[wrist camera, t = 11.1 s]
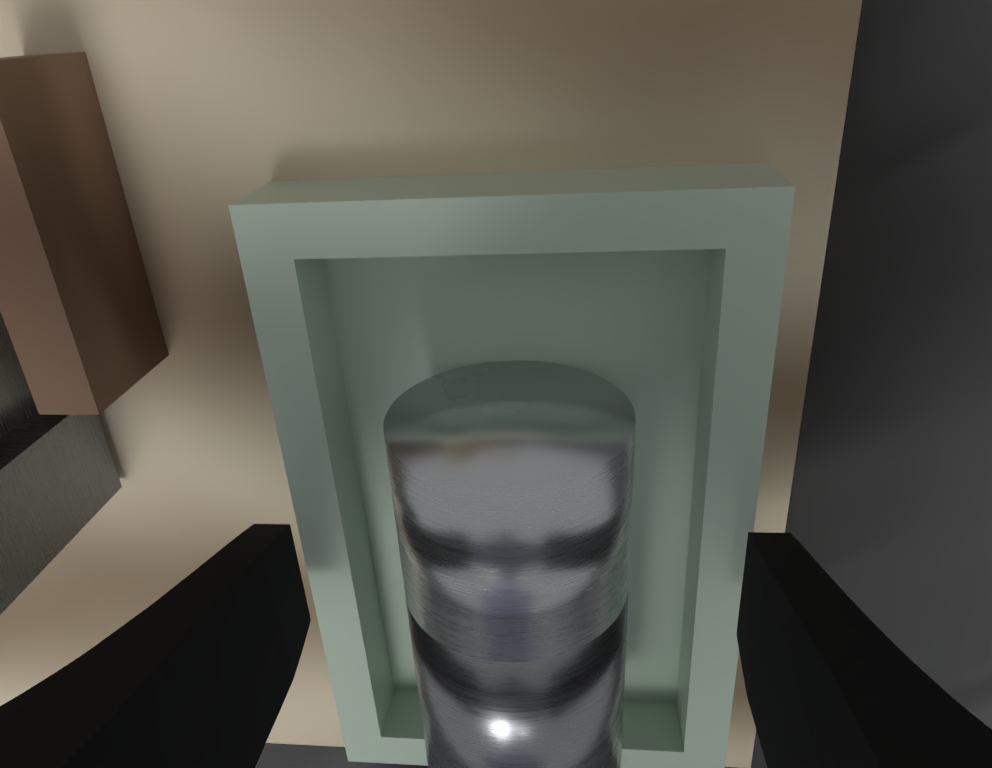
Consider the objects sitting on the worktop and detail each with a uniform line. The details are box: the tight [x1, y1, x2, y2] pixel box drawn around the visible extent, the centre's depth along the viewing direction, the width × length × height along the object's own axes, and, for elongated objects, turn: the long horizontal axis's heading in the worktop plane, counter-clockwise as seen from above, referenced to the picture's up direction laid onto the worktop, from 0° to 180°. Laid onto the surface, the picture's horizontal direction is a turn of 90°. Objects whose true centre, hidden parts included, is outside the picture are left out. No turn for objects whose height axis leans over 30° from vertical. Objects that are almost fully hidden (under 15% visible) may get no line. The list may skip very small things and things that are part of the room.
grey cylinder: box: [383, 361, 635, 768], centre depth 12 cm, size 7×4×4 cm, turn 3°
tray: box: [228, 163, 796, 768], centre depth 13 cm, size 12×8×2 cm, turn 3°
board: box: [0, 0, 862, 768], centre depth 14 cm, size 21×20×1 cm
